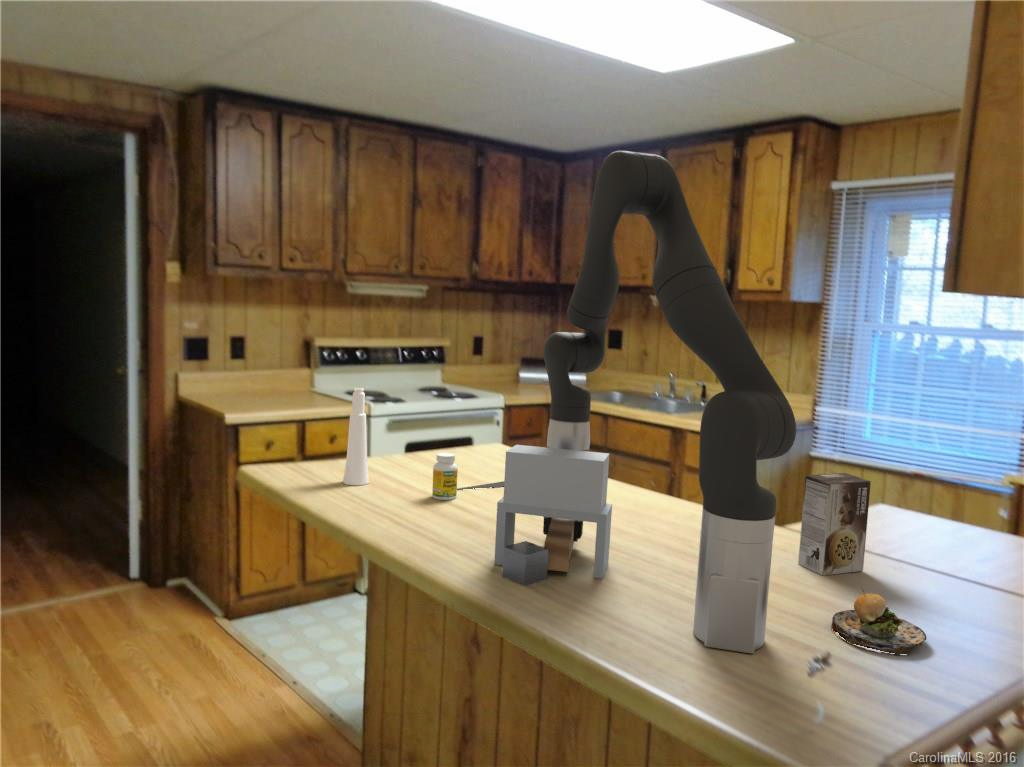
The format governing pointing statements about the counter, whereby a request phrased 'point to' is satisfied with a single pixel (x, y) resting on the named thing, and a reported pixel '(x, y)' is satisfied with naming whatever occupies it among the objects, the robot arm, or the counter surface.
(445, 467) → the supplement bottle
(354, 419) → the cosmetic bottle
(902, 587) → the counter surface
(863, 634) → the burger
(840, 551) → the coffee box
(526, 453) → the cabinet
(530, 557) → the cube
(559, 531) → the bar
